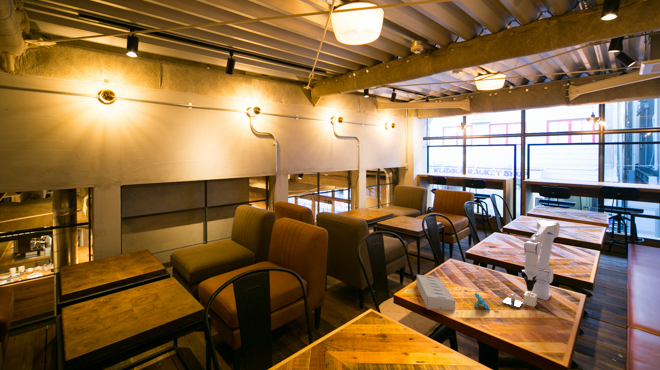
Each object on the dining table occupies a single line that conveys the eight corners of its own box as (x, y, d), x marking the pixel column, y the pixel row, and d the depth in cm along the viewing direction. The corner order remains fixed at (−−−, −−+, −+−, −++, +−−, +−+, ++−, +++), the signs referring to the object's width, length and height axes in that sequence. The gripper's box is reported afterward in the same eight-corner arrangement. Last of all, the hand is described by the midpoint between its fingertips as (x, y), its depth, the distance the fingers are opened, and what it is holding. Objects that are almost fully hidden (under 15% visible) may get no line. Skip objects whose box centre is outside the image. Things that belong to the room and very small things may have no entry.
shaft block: (507, 299, 169) (507, 289, 169) (523, 304, 163) (523, 294, 163) (502, 303, 164) (502, 293, 164) (518, 308, 158) (519, 298, 158)
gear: (491, 311, 153) (476, 295, 156) (482, 317, 155) (467, 301, 158) (489, 304, 163) (475, 289, 166) (481, 310, 165) (467, 295, 168)
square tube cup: (526, 300, 167) (526, 290, 166) (536, 304, 163) (537, 293, 163) (523, 303, 164) (523, 293, 163) (533, 307, 160) (534, 296, 159)
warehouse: (454, 311, 158) (455, 297, 157) (426, 309, 159) (427, 296, 159) (439, 286, 188) (440, 275, 187) (416, 285, 189) (416, 274, 188)
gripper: (523, 258, 168) (522, 281, 169) (521, 266, 156) (520, 291, 157) (538, 261, 163) (537, 284, 165) (537, 269, 152) (536, 294, 153)
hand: (530, 288), depth 161 cm, fingers open, 7 cm apart
